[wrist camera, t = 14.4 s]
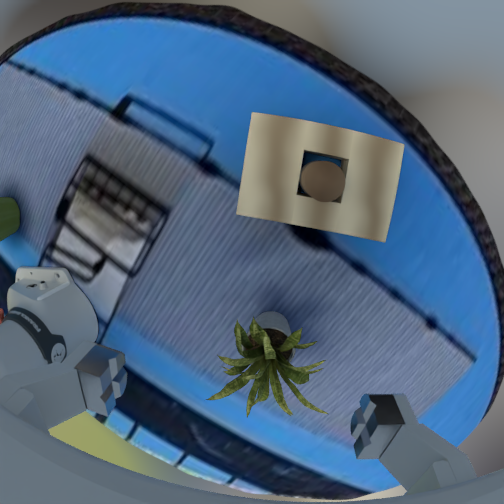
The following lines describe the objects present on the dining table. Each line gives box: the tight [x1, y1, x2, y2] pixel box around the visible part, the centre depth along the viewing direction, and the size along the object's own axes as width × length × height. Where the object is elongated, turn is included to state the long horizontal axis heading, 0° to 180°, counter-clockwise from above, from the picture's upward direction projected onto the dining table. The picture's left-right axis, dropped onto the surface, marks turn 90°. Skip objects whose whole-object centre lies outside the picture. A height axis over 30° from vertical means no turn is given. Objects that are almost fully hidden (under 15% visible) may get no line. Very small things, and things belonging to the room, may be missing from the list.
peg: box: [299, 161, 345, 202], centre depth 33 cm, size 4×4×10 cm
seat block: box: [236, 112, 404, 242], centre depth 35 cm, size 18×12×5 cm, turn 81°
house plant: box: [206, 311, 328, 417], centre depth 36 cm, size 14×14×16 cm
